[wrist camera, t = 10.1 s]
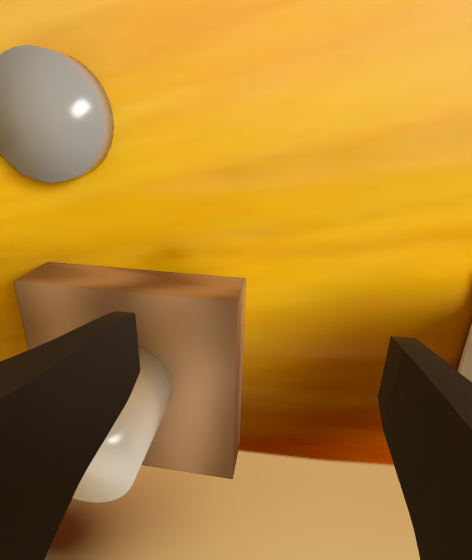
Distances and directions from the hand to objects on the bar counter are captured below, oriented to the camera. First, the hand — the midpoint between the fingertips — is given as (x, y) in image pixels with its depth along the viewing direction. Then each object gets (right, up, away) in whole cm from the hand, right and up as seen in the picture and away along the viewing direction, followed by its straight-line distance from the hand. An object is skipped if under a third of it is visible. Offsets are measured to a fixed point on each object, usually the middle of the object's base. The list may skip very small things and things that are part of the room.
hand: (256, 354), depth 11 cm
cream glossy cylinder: (-7, -4, +11) cm, 13 cm away
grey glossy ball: (-10, +10, +9) cm, 17 cm away
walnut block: (-6, -3, +14) cm, 15 cm away
